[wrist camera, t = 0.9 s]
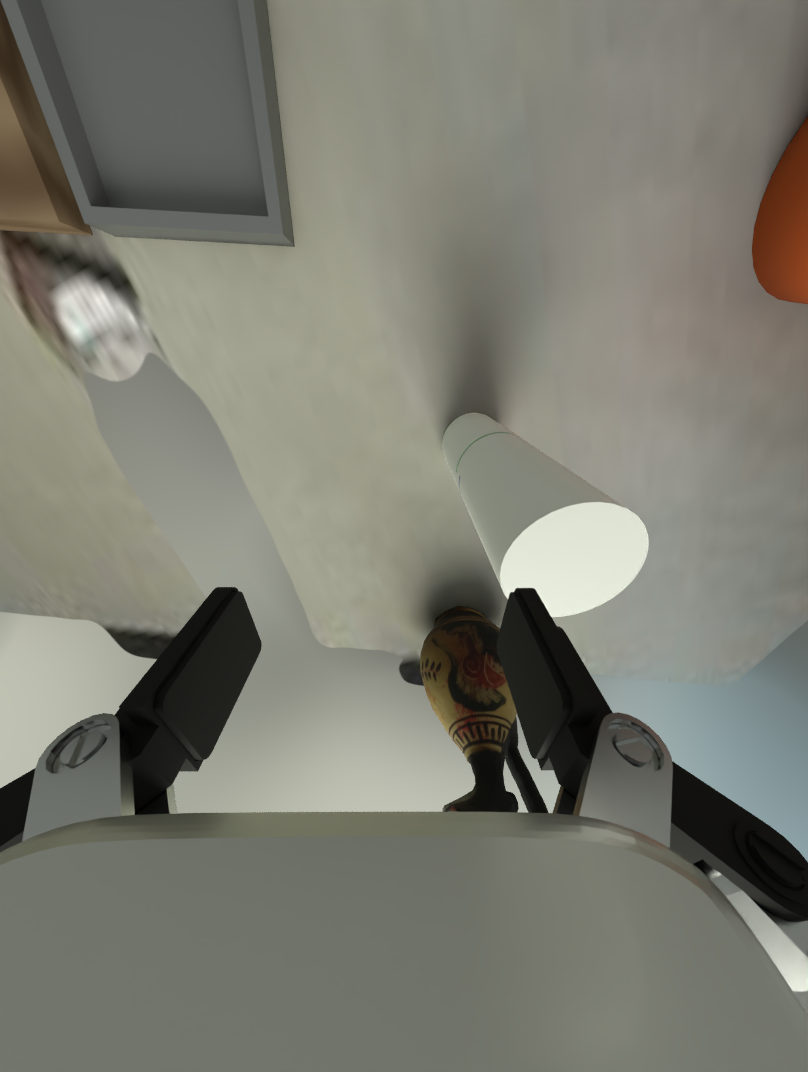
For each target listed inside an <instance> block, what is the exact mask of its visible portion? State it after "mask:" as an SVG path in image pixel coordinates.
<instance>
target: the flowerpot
mask: <svg viewBox="0 0 808 1072" xmlns="http://www.w3.org/2000/svg"><path fill="white" fill-rule="evenodd" d="M752 255H753V267H754V270H755V273H756V275H757V278H758V281H759V283H760V284H761V285H762V286H763V288H764V289H765V290H766V292H767V293H769V294H771V295H772V296H774V297H776V298H777V299H780V300H785V301H789V302H796V303H804V304H808V117H807V118H806V120H805V121H804V123H803V124H802V126H801V127H800V129H799V130H798V132H797V133H796V135H795V136H794V138H793V139H792V141H791V142H790V144H789V145H788V147H787V148H786V150H785V152H784V154H783V156H782V158H781V160H780V161H779V163H778V165H777V167H776V169H775V171H774V173H773V174H772V176H771V179H770V181H769V184H768V186H767V189H766V191H765V194H764V196H763V199H762V201H761V204H760V208H759V212H758V215H757V219H756V223H755V227H754V235H753V244H752Z"/></svg>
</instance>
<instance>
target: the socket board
mask: <svg viewBox="0 0 808 1072" xmlns="http://www.w3.org/2000/svg"><path fill="white" fill-rule="evenodd" d="M0 230H8V231H26V232H44V233H62V234H80V235H93V234H92V232H91V229H90V226H89V225H88V224H85V223H84V220H83V218H82V215H81V212H80V210H79V207H78V204H77V202H76V199H75V196H74V194H73V191H72V188H71V186H70V183H69V180H68V178H67V175H66V173H65V170H64V167H63V165H62V162H61V159H60V157H59V154H58V151H57V149H56V146H55V143H54V141H53V138H52V135H51V133H50V130H49V127H48V125H47V122H46V119H45V117H44V114H43V111H42V109H41V106H40V103H39V101H38V98H37V96H36V93H35V90H34V88H33V85H32V82H31V80H30V77H29V74H28V72H27V69H26V66H25V64H24V61H23V58H22V56H21V53H20V50H19V48H18V45H17V42H16V40H15V37H14V34H13V32H12V29H11V26H10V24H9V21H8V18H7V16H6V13H5V11H4V8H3V5H2V3H1V0H0Z"/></svg>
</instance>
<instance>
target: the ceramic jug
mask: <svg viewBox="0 0 808 1072" xmlns="http://www.w3.org/2000/svg"><path fill="white" fill-rule="evenodd" d="M499 632H500V629H499V628H498V627H497V626H496V625H494V624H493V623H492V622H490V621H488V620H487V619H486V618H485V617H484V616H483V615H482V614H481V613H480V612H479V611H476V610H473V609H471V608H466V607H463V606H457V607H455V608H453V609H451V610H449V611H446V612H444V613H443V614H441V615H440V616H439V617H438V618H437V619H436V626H435V628H434V629H433V630H432V631H431V632H430V633H429V634H428V636H427V637H426V639H425V641H424V644H423V648H422V651H421V660H420V671H421V676H422V679H423V683H424V686H425V690H426V693H427V696H428V699H429V701H430V703H431V706H432V708H433V710H434V711H435V713H436V715H437V717H438V718H439V720H440V721H441V723H442V724H443V726H444V728H445V730H446V731H447V732H448V734H449V735H450V737H451V738H452V740H453V741H454V742H455V744H456V745H457V746H458V747H459V748H460V750H461V751H462V752H463V753H464V755H465V757H466V759H467V761H468V762H469V763H470V764H471V766H472V770H473V773H474V775H475V782H476V784H475V786H474V789H473V790H472V791H471V792H469V793H468V794H466V795H464V796H462V797H461V798H459V799H457V800H455V801H453V802H451V803H449V804H447V805H445V806H444V808H443V812H517V811H518V802H517V799H516V797H515V795H514V794H513V793H511V792H507V791H506V789H505V786H504V778H503V768H504V761H505V759H506V762H507V765H508V767H509V769H510V771H511V774H512V776H513V778H514V780H515V781H516V784H517V786H518V788H519V790H520V793H521V796H522V798H523V801H524V803H525V805H526V808H527V810H528V812H529V813H548V810H547V808H546V805H545V803H544V801H543V799H542V797H541V795H540V794H539V791H538V789H537V787H536V785H535V783H534V781H533V779H532V777H531V775H530V772H529V770H528V769H527V767H526V765H525V763H524V761H523V759H522V758H521V755H520V753H519V750H518V748H517V746H518V733H517V720H516V714H517V711H516V708H515V705H514V702H513V699H512V696H511V692H510V689H509V686H508V683H507V680H506V677H505V674H504V671H503V668H502V665H501V661H500V658H499V655H498V652H497V639H498V636H499Z"/></svg>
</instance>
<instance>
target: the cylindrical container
mask: <svg viewBox="0 0 808 1072" xmlns="http://www.w3.org/2000/svg"><path fill="white" fill-rule="evenodd" d="M442 451H443V454H444V457H445V459H446V462H447V464H448V466H449V469H450V471H451V473H452V476H453V478H454V480H455V482H456V485H457V487H458V489H459V492H460V494H461V496H462V498H463V501H464V503H465V505H466V508H467V510H468V512H469V515H470V517H471V519H472V522H473V524H474V526H475V528H476V531H477V533H478V535H479V538H480V540H481V542H482V545H483V547H484V549H485V551H486V554H487V556H488V558H489V561H490V563H491V565H492V567H493V570H494V572H495V574H496V577H497V579H498V581H499V583H500V586H501V588H502V590H503V593H504V594H505V596H506V597H507V599H508V598H509V594H510V593H511V592H514V591H515V589H516V588H534V589H535V590H536V591H537V593H538V595H539V597H540V598H541V600H542V602H543V603H544V605H545V607H546V609H547V610H548V612H549V614H550V616H551V617H562V616H568V615H574V614H578V613H581V612H585V611H588V610H590V609H592V608H595V607H597V606H599V605H601V604H603V603H605V602H606V601H608V600H610V599H612V598H613V597H614V596H616V595H617V594H618V593H620V592H621V591H622V590H623V589H625V588H626V587H627V586H628V584H629V583H630V582H631V581H632V580H633V579H634V578H635V577H636V575H637V574H638V572H639V571H640V569H641V568H642V566H643V563H644V561H645V559H646V556H647V552H648V547H649V546H648V534H647V531H646V528H645V525H644V524H643V523H642V521H641V520H640V519H639V517H638V516H637V515H635V514H634V513H633V512H631V511H630V510H628V509H627V508H625V507H624V506H622V505H621V504H619V503H618V502H616V501H615V500H613V499H612V498H610V497H609V496H607V495H606V494H604V493H603V492H601V491H600V490H598V489H597V488H595V487H594V486H592V485H591V484H589V483H588V482H586V481H585V480H583V479H582V478H580V477H579V476H577V475H576V474H574V473H573V472H571V471H570V470H568V469H567V468H565V467H564V466H562V465H561V464H559V463H558V462H556V461H555V460H553V459H552V458H550V457H549V456H547V455H546V454H544V453H543V452H541V451H540V450H538V449H537V448H535V447H534V446H532V445H531V444H529V443H528V442H526V441H525V440H523V439H522V438H520V437H519V436H517V435H516V434H514V433H513V432H511V431H510V430H508V429H507V428H505V427H504V426H502V425H501V424H499V423H498V422H496V421H495V420H493V419H491V418H490V417H488V416H487V415H485V414H482V413H476V412H474V413H467V414H464V415H462V416H459V417H458V418H456V419H455V420H454V421H453V422H452V423H451V424H450V425H449V426H448V428H447V429H446V431H445V433H444V436H443V440H442Z"/></svg>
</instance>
